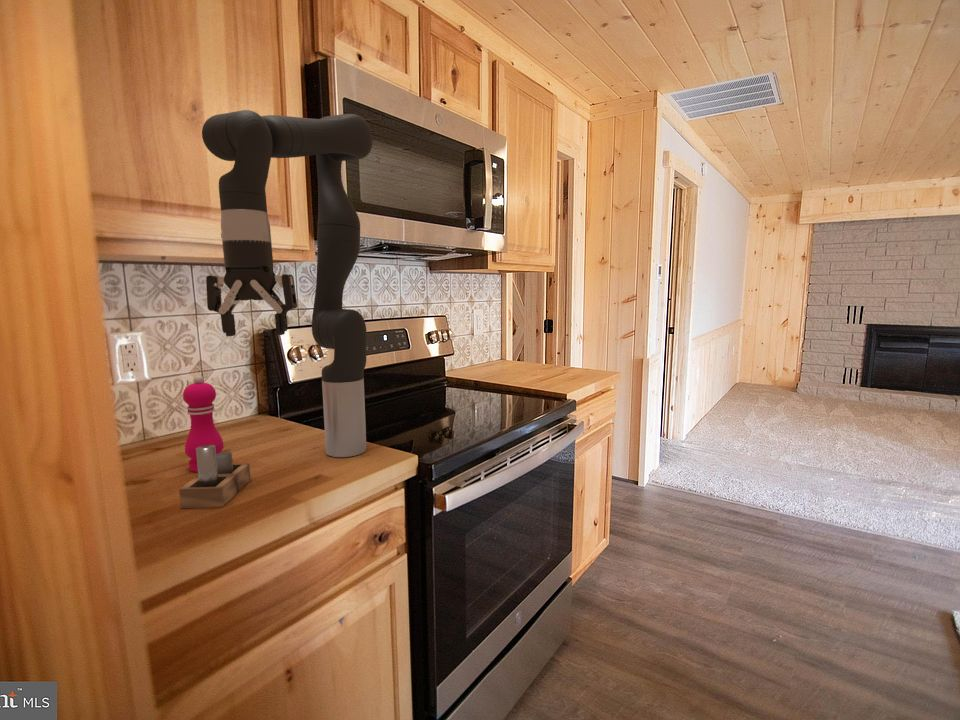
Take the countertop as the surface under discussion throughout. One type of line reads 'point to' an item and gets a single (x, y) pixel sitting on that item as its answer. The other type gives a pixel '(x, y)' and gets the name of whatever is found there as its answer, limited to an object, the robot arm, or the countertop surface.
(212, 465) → the pin
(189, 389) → the pepper mill
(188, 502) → the wooden divided tray
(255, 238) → the robot arm
